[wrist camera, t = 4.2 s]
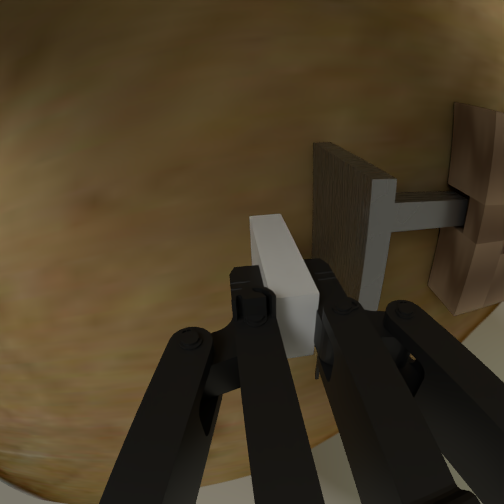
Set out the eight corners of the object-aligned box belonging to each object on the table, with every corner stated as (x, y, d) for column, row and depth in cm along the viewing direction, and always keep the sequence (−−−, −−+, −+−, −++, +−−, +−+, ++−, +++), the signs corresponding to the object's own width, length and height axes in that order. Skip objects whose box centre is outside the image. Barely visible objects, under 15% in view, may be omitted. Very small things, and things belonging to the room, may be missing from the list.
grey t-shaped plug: (313, 142, 16) (372, 179, 10) (457, 146, 17) (537, 182, 11) (310, 270, 20) (349, 350, 14) (440, 253, 21) (499, 311, 15)
